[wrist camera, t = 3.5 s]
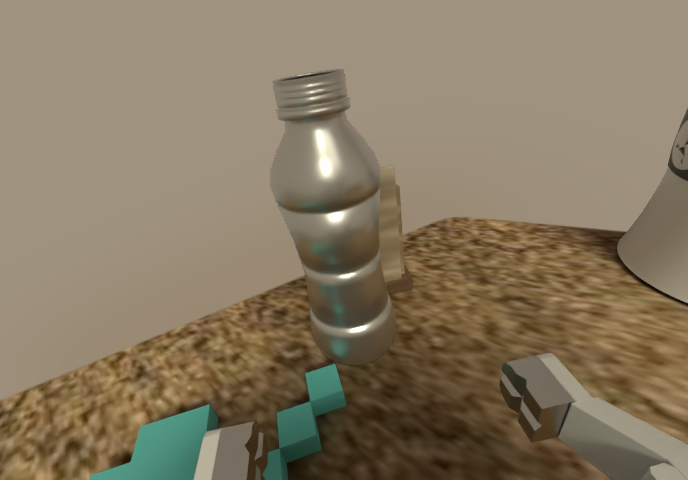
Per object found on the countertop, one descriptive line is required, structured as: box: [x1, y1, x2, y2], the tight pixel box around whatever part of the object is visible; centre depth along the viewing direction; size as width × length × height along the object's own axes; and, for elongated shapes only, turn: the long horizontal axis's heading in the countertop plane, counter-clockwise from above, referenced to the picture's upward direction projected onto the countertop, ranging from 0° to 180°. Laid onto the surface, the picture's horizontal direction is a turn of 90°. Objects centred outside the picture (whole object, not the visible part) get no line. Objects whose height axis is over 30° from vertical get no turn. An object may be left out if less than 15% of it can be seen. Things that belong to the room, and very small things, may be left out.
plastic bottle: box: [270, 69, 396, 365], centre depth 21 cm, size 6×7×20 cm
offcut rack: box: [379, 165, 412, 294], centre depth 28 cm, size 2×9×12 cm, turn 99°
